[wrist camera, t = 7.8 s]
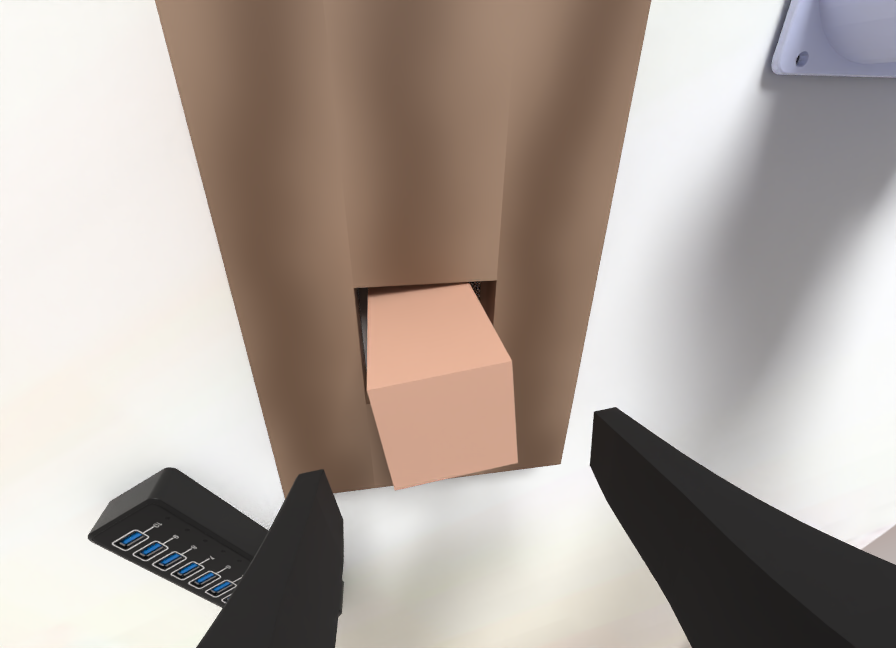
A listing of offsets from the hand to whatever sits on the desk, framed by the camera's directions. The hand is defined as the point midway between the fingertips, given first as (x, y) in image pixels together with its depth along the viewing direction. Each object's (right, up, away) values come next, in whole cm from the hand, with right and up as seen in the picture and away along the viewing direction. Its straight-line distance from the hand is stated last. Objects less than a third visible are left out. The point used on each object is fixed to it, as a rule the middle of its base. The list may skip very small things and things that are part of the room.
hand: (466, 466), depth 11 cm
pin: (-2, +4, +8) cm, 9 cm away
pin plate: (-2, +6, +7) cm, 10 cm away
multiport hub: (-13, -9, +14) cm, 21 cm away
